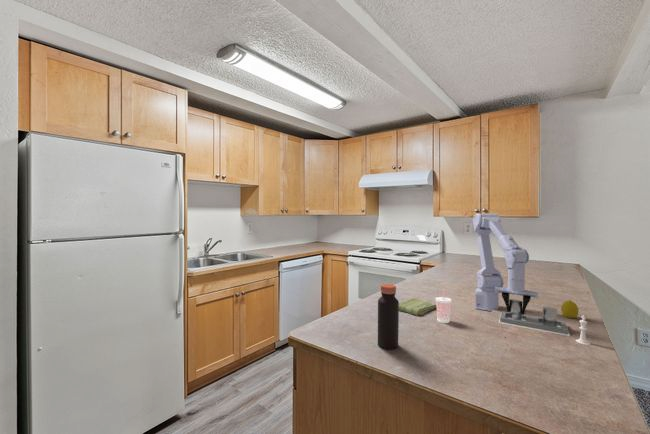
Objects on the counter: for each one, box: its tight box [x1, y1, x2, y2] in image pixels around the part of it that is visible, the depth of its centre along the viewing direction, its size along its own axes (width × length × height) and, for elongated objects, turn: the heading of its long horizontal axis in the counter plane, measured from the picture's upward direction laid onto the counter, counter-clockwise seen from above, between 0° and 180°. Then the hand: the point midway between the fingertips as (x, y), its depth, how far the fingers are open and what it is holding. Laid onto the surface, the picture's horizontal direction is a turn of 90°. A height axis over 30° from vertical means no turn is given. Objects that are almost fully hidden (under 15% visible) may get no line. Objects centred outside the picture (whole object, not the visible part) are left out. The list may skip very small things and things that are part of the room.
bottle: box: [377, 283, 400, 350], centre depth 100 cm, size 7×7×20 cm
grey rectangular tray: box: [497, 310, 571, 337], centre depth 117 cm, size 22×13×2 cm, turn 56°
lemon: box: [560, 299, 579, 319], centre depth 124 cm, size 6×6×8 cm
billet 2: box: [542, 306, 558, 327], centre depth 114 cm, size 4×4×7 cm
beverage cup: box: [435, 286, 452, 324], centre depth 122 cm, size 6×6×14 cm
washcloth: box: [399, 297, 437, 317], centre depth 137 cm, size 13×18×3 cm
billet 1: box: [509, 298, 523, 320], centre depth 120 cm, size 4×4×7 cm
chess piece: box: [575, 314, 591, 346], centre depth 101 cm, size 5×5×10 cm
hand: (515, 312), depth 120 cm, fingers closed on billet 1, 4 cm apart
